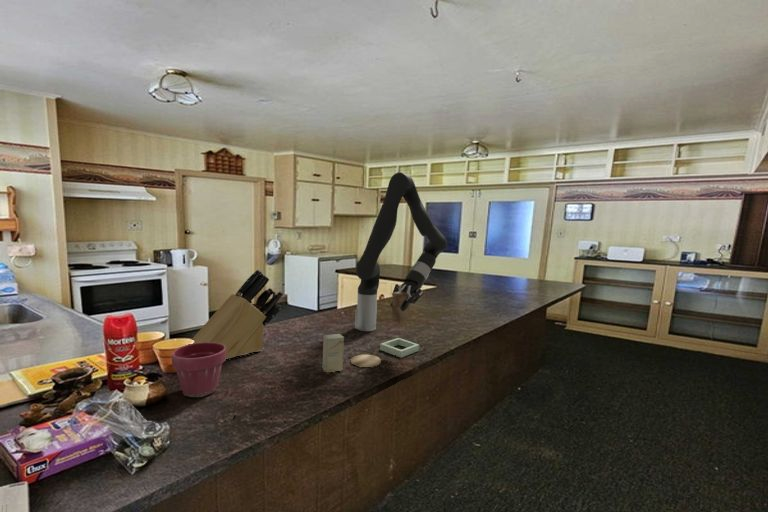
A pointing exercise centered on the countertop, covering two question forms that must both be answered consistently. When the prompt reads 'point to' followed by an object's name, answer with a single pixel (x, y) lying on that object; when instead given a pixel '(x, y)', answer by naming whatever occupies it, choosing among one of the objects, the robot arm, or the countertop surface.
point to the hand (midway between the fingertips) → (397, 308)
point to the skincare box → (333, 352)
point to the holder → (391, 349)
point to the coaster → (366, 360)
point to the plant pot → (199, 366)
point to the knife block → (242, 318)
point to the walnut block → (397, 303)
